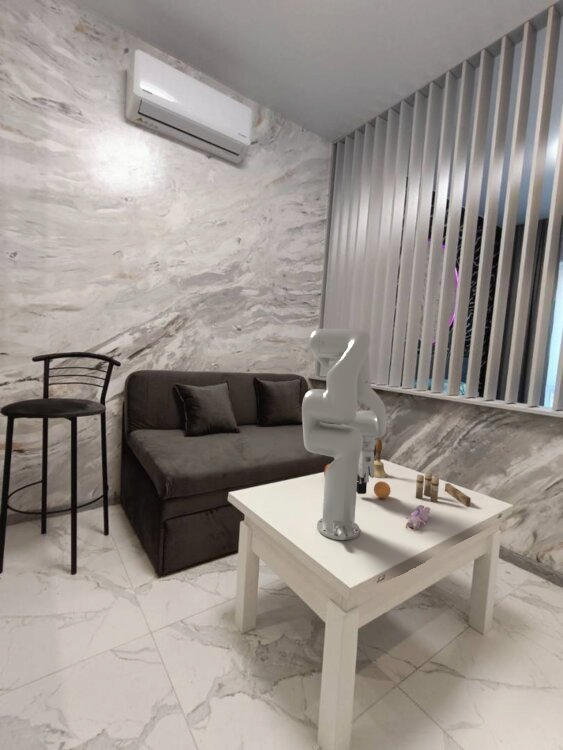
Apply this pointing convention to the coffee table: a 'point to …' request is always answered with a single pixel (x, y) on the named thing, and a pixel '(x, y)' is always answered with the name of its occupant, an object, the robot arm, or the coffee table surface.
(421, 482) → the front pin
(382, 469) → the hand bell
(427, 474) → the pin
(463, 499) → the bar
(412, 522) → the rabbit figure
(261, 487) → the coffee table surface
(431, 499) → the pin
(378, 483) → the ball
